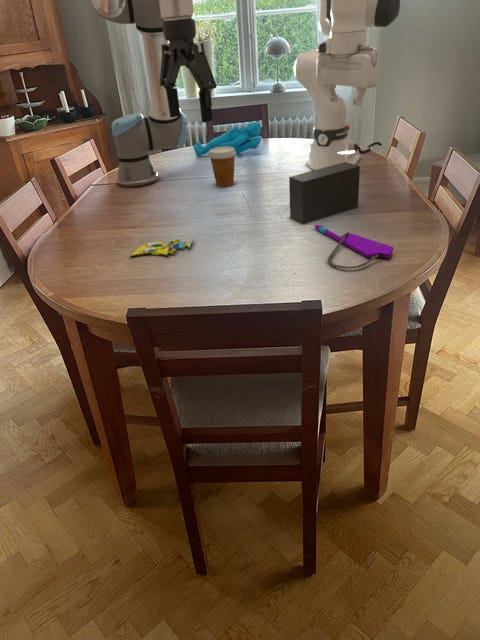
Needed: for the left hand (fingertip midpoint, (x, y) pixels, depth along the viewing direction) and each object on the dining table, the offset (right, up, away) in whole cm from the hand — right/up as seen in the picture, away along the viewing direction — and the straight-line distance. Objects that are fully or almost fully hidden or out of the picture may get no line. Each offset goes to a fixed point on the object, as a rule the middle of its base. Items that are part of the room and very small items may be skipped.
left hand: (190, 119), depth 120 cm
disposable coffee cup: (+7, -1, +53) cm, 53 cm away
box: (+37, -18, +22) cm, 47 cm away
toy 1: (-8, -31, +9) cm, 34 cm away
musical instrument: (+38, -33, 0) cm, 50 cm away
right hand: (+41, +8, +9) cm, 42 cm away
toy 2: (+7, +22, +88) cm, 91 cm away
